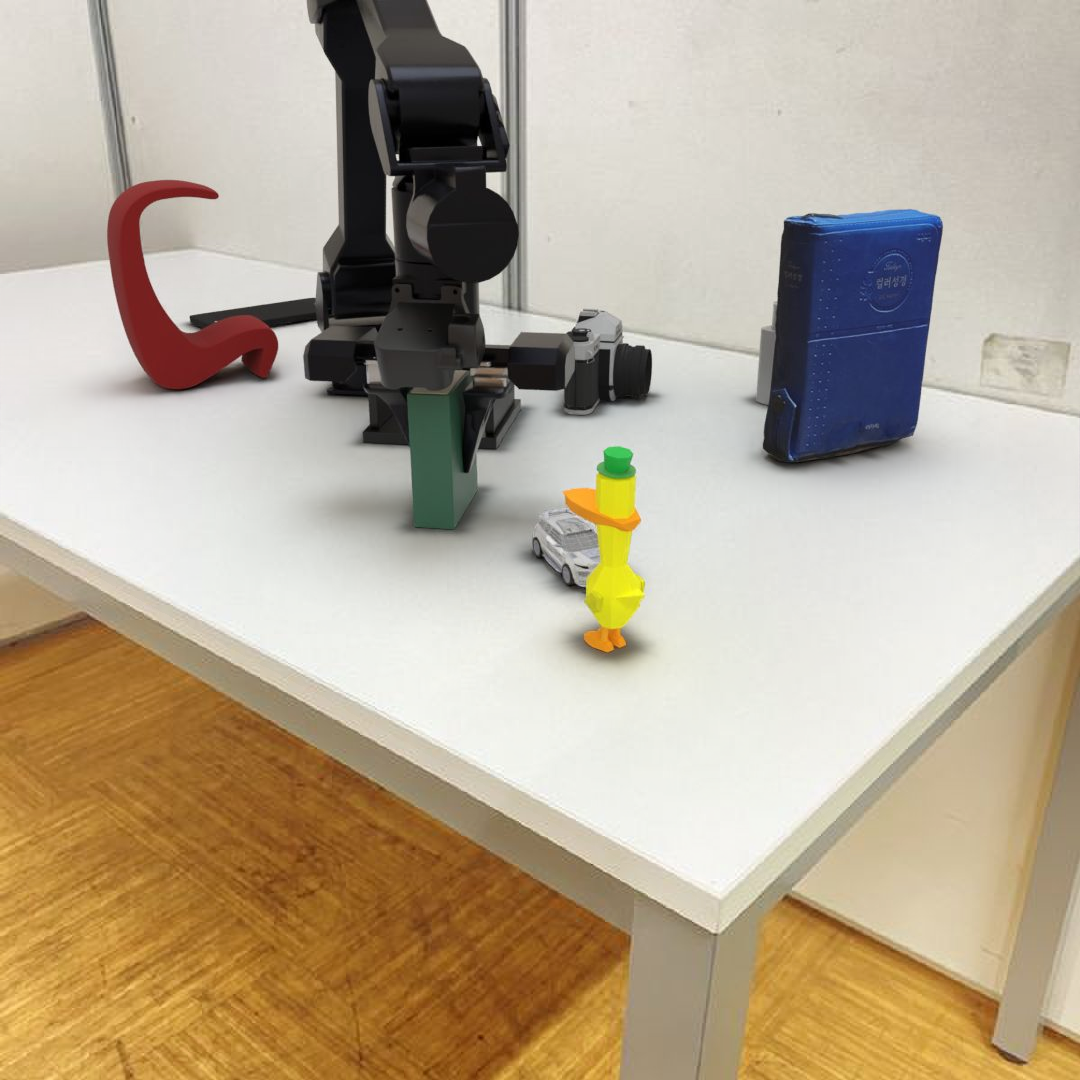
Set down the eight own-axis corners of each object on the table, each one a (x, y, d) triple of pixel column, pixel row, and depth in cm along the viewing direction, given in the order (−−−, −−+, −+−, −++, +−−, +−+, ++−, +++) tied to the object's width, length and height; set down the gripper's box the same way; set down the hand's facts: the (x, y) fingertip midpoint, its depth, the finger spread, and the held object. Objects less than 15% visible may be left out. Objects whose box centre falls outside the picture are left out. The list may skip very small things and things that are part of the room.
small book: (413, 527, 82) (406, 392, 78) (440, 488, 89) (435, 363, 85) (454, 529, 81) (449, 394, 77) (477, 490, 89) (474, 364, 85)
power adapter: (752, 400, 111) (761, 277, 106) (789, 390, 114) (799, 270, 109) (776, 407, 109) (786, 281, 104) (813, 397, 112) (825, 275, 107)
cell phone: (348, 314, 147) (347, 307, 147) (217, 335, 137) (216, 327, 136) (315, 303, 153) (314, 296, 153) (188, 322, 143) (187, 315, 143)
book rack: (363, 442, 100) (359, 393, 98) (400, 403, 110) (397, 358, 109) (496, 449, 98) (495, 398, 96) (520, 409, 109) (520, 363, 107)
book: (790, 473, 92) (812, 220, 84) (749, 454, 96) (767, 211, 88) (921, 446, 98) (954, 207, 90) (878, 429, 102) (906, 200, 94)
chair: (138, 396, 113) (107, 189, 105) (126, 379, 119) (95, 181, 111) (283, 377, 120) (264, 180, 112) (264, 361, 125) (244, 173, 117)
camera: (639, 420, 105) (645, 323, 102) (557, 414, 107) (560, 318, 104) (654, 392, 117) (659, 305, 114) (580, 387, 119) (583, 301, 116)
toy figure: (543, 628, 67) (543, 437, 63) (589, 611, 69) (592, 424, 65) (619, 673, 62) (625, 469, 58) (666, 653, 64) (675, 455, 60)
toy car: (576, 595, 71) (577, 552, 70) (526, 549, 78) (526, 509, 77) (628, 585, 73) (629, 542, 72) (574, 540, 79) (574, 500, 78)
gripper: (263, 275, 72) (286, 503, 78) (552, 282, 69) (552, 518, 75) (322, 247, 82) (338, 451, 88) (576, 252, 79) (575, 463, 85)
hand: (445, 470), depth 84 cm, fingers closed on small book, 3 cm apart
